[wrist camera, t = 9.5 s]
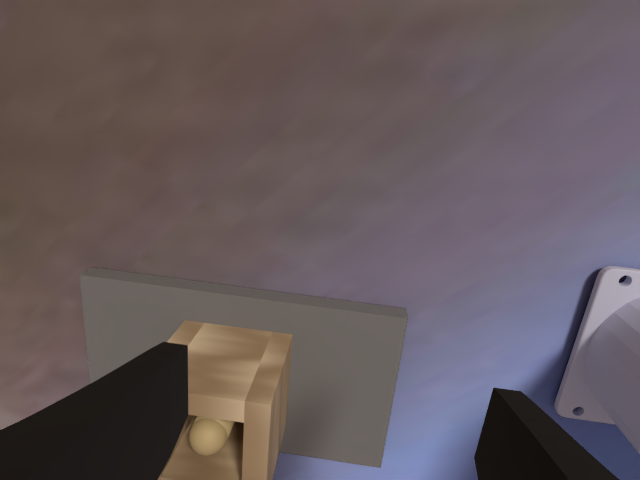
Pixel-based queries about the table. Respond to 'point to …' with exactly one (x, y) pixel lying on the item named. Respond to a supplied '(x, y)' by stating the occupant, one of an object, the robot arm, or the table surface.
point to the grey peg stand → (268, 315)
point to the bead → (233, 400)
